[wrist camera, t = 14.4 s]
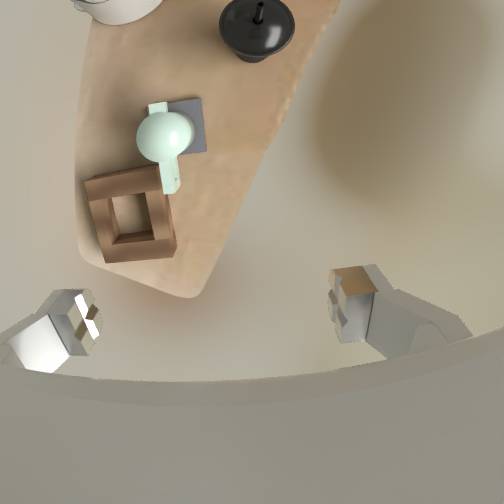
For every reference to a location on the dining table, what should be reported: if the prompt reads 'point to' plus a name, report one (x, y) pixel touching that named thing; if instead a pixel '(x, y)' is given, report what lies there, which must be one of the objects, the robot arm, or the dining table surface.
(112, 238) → the stand
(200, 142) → the mat
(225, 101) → the dining table surface
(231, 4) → the drinking cup
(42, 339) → the robot arm
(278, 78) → the dining table surface
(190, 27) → the dining table surface
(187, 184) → the dining table surface
